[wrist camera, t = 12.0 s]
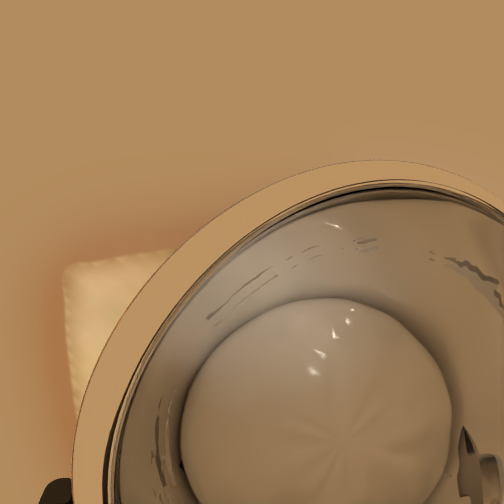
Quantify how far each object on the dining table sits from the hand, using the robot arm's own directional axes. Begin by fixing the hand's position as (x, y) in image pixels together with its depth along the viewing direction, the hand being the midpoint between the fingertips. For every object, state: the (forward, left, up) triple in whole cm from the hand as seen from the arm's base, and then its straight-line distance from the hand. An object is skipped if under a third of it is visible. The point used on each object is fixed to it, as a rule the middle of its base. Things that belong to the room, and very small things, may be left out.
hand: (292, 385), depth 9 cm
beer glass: (+1, +1, -7) cm, 7 cm away
